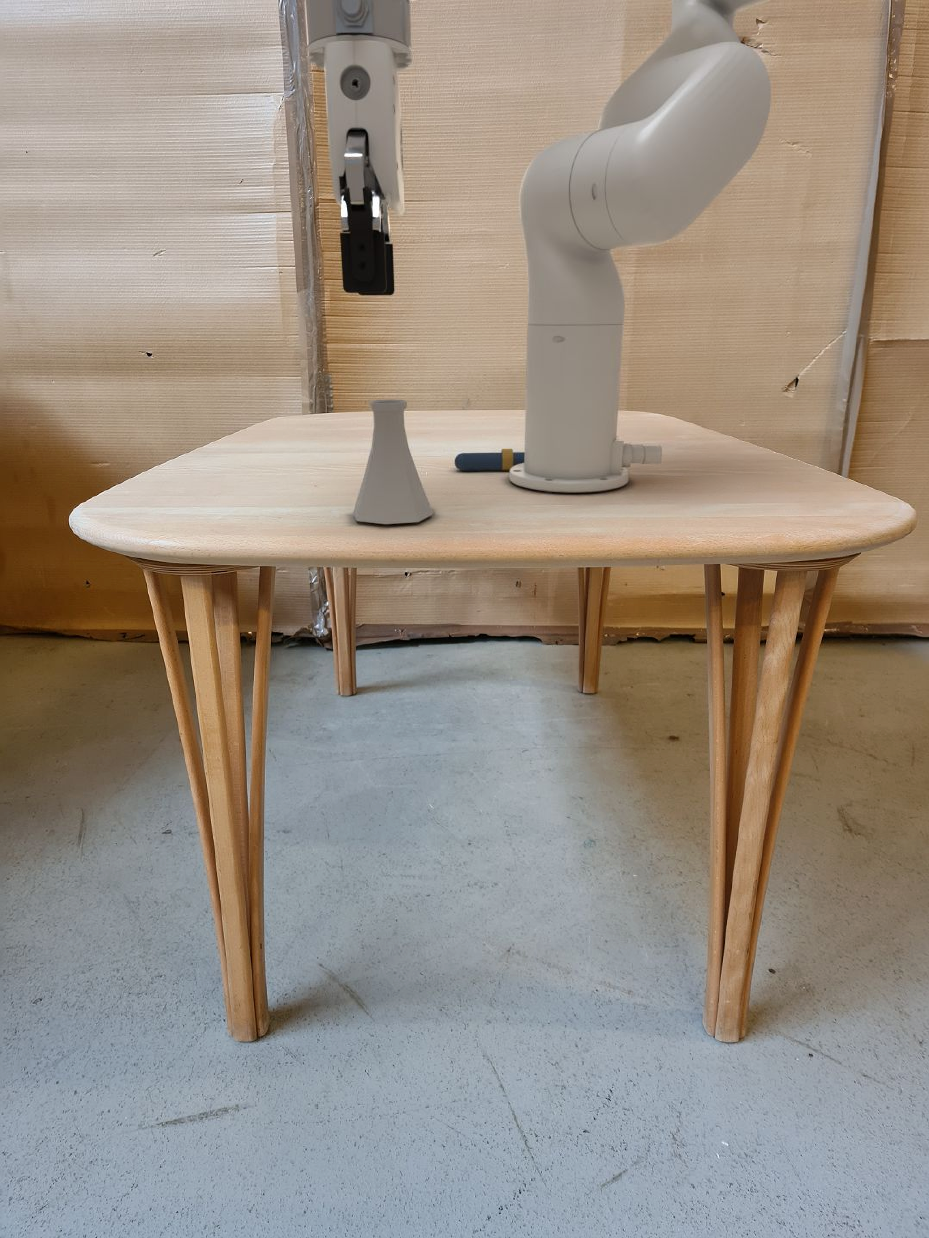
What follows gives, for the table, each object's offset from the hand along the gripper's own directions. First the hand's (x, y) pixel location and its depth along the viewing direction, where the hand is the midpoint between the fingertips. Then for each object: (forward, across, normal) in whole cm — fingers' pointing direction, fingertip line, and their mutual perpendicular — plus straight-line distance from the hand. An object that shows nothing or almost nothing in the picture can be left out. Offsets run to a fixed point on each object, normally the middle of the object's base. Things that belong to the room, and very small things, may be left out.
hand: (371, 294), depth 61 cm
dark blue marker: (+18, +20, -13) cm, 30 cm away
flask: (+19, 0, -1) cm, 19 cm away
